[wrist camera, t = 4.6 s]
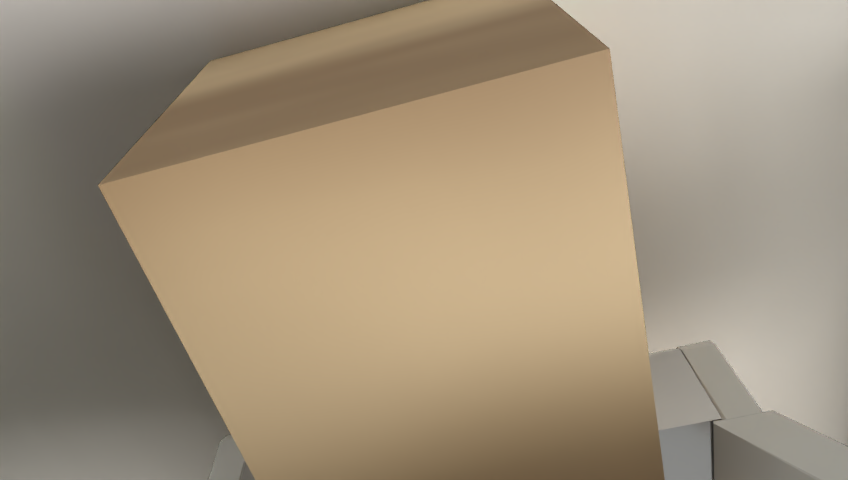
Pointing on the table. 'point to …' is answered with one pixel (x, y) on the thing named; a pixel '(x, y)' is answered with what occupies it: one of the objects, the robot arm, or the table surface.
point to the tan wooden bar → (405, 249)
